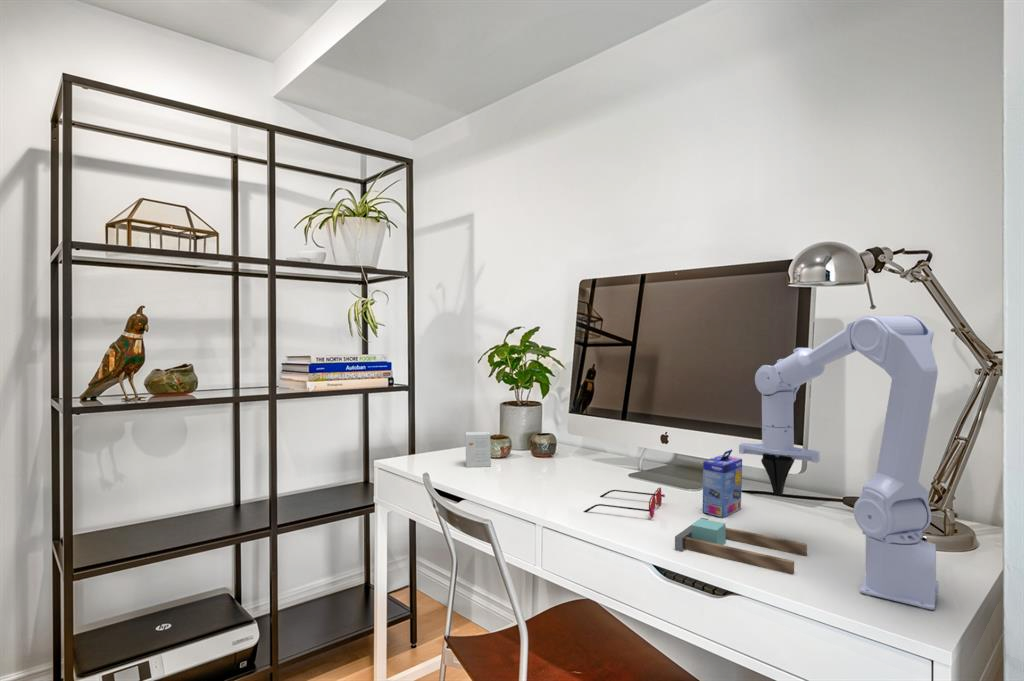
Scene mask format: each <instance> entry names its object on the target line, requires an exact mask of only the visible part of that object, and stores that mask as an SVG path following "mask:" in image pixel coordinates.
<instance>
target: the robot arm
mask: <svg viewBox="0 0 1024 681" xmlns="http://www.w3.org/2000/svg"><path fill="white" fill-rule="evenodd" d="M934 335H935V334H934V331H933V330H932V329H931V328H930V327H929V326H928V325H927V324H926V323H925V322H924V321H923V320H922V319H921V318H919V317H918V316H915V315H911V314H908V315H907V314H905V315H888V316H887V315H886V316H885V315H879V316H878V315H870V314H869V315H864V316H863V315H862V316H861V317H859V318H858V319H856V320H853V321H850V322H849V323H847V325H846V327H845V328H843V330H840V331H839V332H838V333H836V334H835V335H833V336H831V337H830V338H828V339H827V340H825V341H824V342H822V343H821V344H819V345H818V346H817V347H815V348H814V349H813V348H810V347H796V348H794V349H793V350H792V351H793V353H792V354H790V355H789V356H787V357H785V358H779V359H777V360H776V363H775V364H774V365H768V364H763V365H761V366H760V367H759V368H758V369H757V371H756V372H755V375H754V383H755V384H754V385H755V386H756V389H757V390H758V392H759V393H760V394H761V443H751V442H750V443H746V442H741V443H739V444H738V454H740V455H741V454H742V455H745V454H746V455H754V456H762V458H761V460H760V462H761V464H762V466H763V467H764V469H765V472H766V473H767V476H768V478H769V482H770V484H771V488H772V492H773V493H772V494H773V495H778V496H781V495H783V494H784V489H785V484H786V480H787V478H788V475H789V472H790V471H791V468H792V467H793V464H794V463H795V460H798V461H807V462H811V463H819V462H820V460H821V459H820V454H821V453H820V451H819V450H813V449H807V448H802V447H796V446H795V442H794V441H795V439H794V438H795V435H794V433H795V430H794V426H795V425H794V424H795V423H794V403H795V402H796V400H797V393H798V391H799V389H800V387H801V386H802V385H804V384H805V383H808V382H810V381H811V380H813V379H815V378H817V377H819V376H821V375H822V374H823V373H824V371H825V367H826V365H828V364H831V363H833V362H836V361H837V360H840V359H842V358H844V357H846V356H848V355H851V354H853V353H856V352H858V353H860V355H862V356H864V357H865V358H867V359H868V360H870V362H873V363H874V364H875V365H877V366H879V367H880V368H882V369H883V370H884V371H885V373H887V375H888V376H889V377H890V379H891V382H890V389H889V395H888V401H887V407H886V414H885V418H884V419H885V420H884V425H883V431H882V436H881V437H882V438H881V443H880V449H879V453H878V460H877V467H876V473H875V474H874V475H873V476H872V477H871V478H870V479H868V481H867V482H866V483H865V484H864V485H863V486H862V489H861V490H862V491H861V494H860V496H859V498H857V499H856V501H855V503H854V505H853V516H854V520H855V522H856V524H857V526H858V527H859V529H861V532H862V535H865V536H864V537H865V575H864V578H863V581H862V583H861V586H860V589H859V592H860V593H861V594H865V595H868V596H872V597H873V596H874V597H878V598H882V599H885V600H889V601H895V602H896V603H897V602H898V603H903V604H906V605H910V606H915V607H919V608H923V609H927V610H931V611H933V610H935V606H936V599H937V594H939V581H938V580H937V547H936V546H937V545H936V543H933V542H930V541H929V542H928V541H925V540H922V539H921V538H923V531H924V530H925V529H927V528H928V527H929V526H930V524H931V521H932V511H931V508H930V505H929V498H930V497H929V496H930V491H929V490H928V489H927V488H926V487H925V486H923V484H921V483H920V482H919V480H920V476H921V475H920V474H921V470H922V469H921V468H922V463H923V457H924V453H925V452H924V451H925V446H926V441H927V435H928V430H929V429H928V428H929V424H930V420H931V413H932V408H933V402H934V397H935V391H936V386H937V380H938V376H939V374H938V366H937V363H936V359H935V356H934V355H935V354H934V351H933V347H932V345H933V339H934Z"/></svg>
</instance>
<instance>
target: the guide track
mask: <svg viewBox="0 0 1024 681" xmlns="http://www.w3.org/2000/svg"><path fill="white" fill-rule="evenodd" d="M726 540H729V541H734V542H739V543H743V544H748V545H752V546H757V547H762V548H767V549H769V550H770V549H771V550H776V551H781V552H785V553H789V554H794V555H799V556H805V557H806V556H807V555H808V544H807V543H805V542H800V541H796V540H789V539H785V538H780V537H776V536H775V537H774V536H770V535H765V534H761V533H755V532H750V531H746V530H740V529H736V528H730V527H726ZM687 549H688V551H693V552H696V553H701V554H704V555H709V556H713V557H719V558H722V559H726V560H731V561H734V562H739V563H743V564H747V565H751V566H756V567H761V568H765V569H769V570H774V571H776V572H777V571H778V572H782V573H786V574H790V575H794V573H795V560H791V559H788V558H782V557H778V556H773V555H768V554H764V553H759V552H755V551H750V550H748V549H747V550H746V549H742V548H738V547H733V546H728V545H725V544H724V545H720V544H716V543H711V542H707V541H702V540H697V539H693V538H688V537H687V538H686V539H685V550H687Z"/></svg>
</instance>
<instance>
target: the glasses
mask: <svg viewBox="0 0 1024 681" xmlns="http://www.w3.org/2000/svg"><path fill="white" fill-rule="evenodd" d="M612 492H613V493H614V492H620V493H629V494H637V495H646V496H651V497H650V498H649V501H648V509H645V508H638V507H629V506H622V505H621V506H619V505H614V504H613V505H612V504H603V503H598V504H594V505H592V506H590V507H588V508H587V509H585V510H584V511H583V513H588V512H589V511H591V510H592V509H594V508H596V507H601V506H602V507H607V508H609V507H610V508H615V509H616V508H618V509H624V510H633V511H642V512H649V516H650V518H651V517H653V518H654V516H655V515H654V514H655V509H656V508H657V507H656V505H659V506H661V505H662V499H663V498H665V496H666V495H665V494H664V493H663V494H662V486H661V487H658V488H657V490H656V491H654V493H651V492H650V493H649V492H639V491H631V490H620V489H611V490H608V491H606V492H605V493H602V495H600V496H599V497H600V498H603V497H605V496H607V495H608V494H609V493H610V494H611V493H612Z"/></svg>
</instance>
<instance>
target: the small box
mask: <svg viewBox="0 0 1024 681" xmlns="http://www.w3.org/2000/svg"><path fill="white" fill-rule="evenodd" d="M464 438H465V465H466V466H465V467H466V468H487V467H492V459H491V458H492V456H491V455H492V454H491V453H492V452H491V450H492V449H491V448H492V447H491V445H492V444H491V433H490V430H487V431H486V430H485V431H480V430H479V431H466V432H465V437H464Z"/></svg>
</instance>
